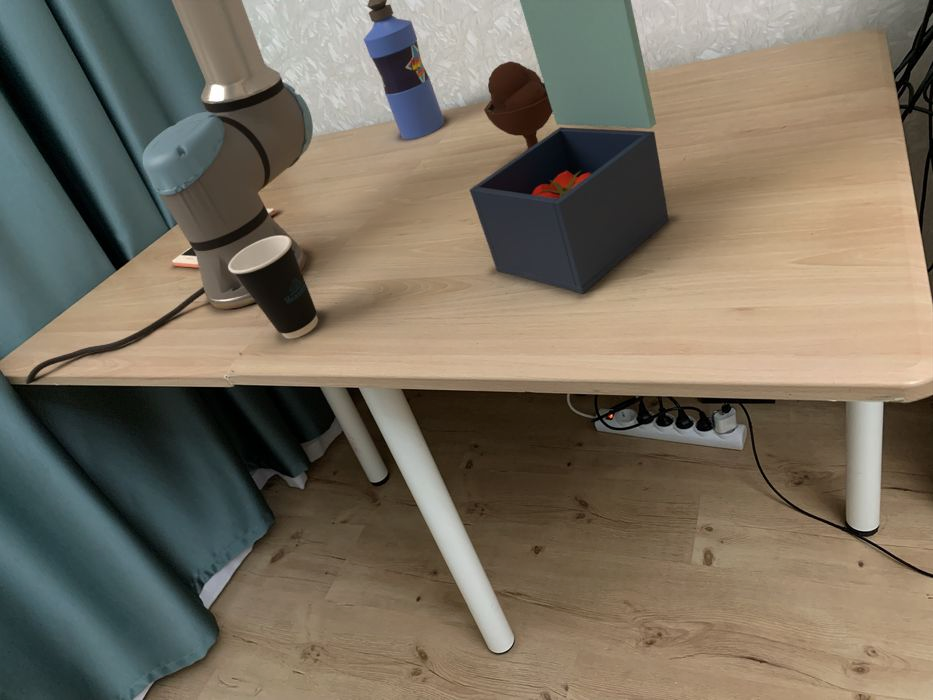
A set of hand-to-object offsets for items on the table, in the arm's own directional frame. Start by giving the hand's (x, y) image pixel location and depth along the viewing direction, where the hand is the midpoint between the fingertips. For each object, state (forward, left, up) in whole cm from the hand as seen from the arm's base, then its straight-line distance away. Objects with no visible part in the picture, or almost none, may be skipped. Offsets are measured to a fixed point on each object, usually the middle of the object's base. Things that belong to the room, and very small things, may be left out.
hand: (608, 40), depth 76 cm
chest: (-11, 0, -19) cm, 22 cm away
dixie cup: (-38, +24, -19) cm, 49 cm away
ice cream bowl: (+8, +25, -20) cm, 33 cm away
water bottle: (+15, +63, -19) cm, 67 cm away
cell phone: (-29, +67, -19) cm, 76 cm away
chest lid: (-4, 0, 0) cm, 5 cm away
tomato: (-11, 0, -19) cm, 22 cm away
